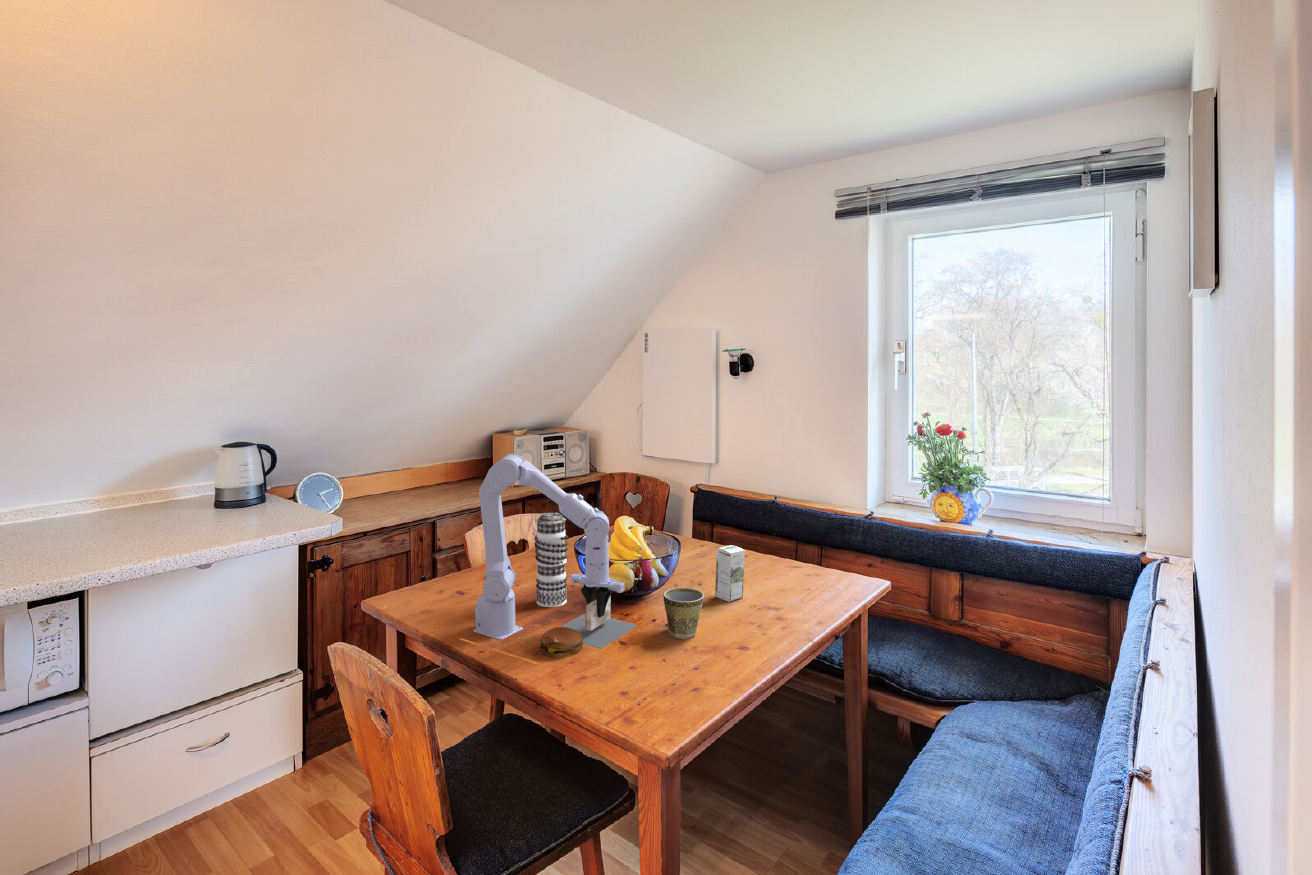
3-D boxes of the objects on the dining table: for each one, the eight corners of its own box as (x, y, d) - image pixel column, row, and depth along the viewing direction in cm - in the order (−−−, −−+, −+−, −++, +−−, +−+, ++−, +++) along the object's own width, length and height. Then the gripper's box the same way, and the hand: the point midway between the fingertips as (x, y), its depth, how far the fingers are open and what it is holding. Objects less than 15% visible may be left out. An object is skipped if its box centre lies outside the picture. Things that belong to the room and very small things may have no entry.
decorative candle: (557, 594, 191) (556, 508, 188) (574, 603, 184) (574, 515, 181) (528, 601, 186) (527, 513, 182) (545, 611, 178) (544, 520, 175)
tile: (605, 617, 170) (605, 594, 170) (610, 618, 170) (610, 595, 169) (585, 629, 163) (585, 605, 162) (590, 630, 162) (591, 606, 161)
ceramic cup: (700, 643, 160) (700, 603, 159) (659, 639, 162) (659, 599, 160) (706, 622, 172) (707, 585, 171) (668, 618, 174) (669, 582, 173)
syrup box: (728, 592, 194) (729, 544, 192) (743, 598, 190) (745, 548, 188) (714, 596, 190) (715, 547, 189) (729, 602, 186) (731, 552, 184)
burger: (579, 640, 161) (579, 621, 161) (585, 657, 152) (585, 638, 152) (538, 644, 159) (538, 625, 158) (541, 662, 150) (540, 642, 149)
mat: (548, 634, 164) (548, 633, 164) (587, 613, 177) (587, 611, 177) (601, 650, 156) (601, 648, 156) (638, 626, 169) (638, 624, 169)
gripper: (563, 561, 164) (563, 614, 165) (613, 571, 157) (613, 626, 159) (579, 554, 170) (580, 605, 172) (629, 563, 163) (628, 616, 165)
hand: (597, 615), depth 165 cm, fingers closed on tile, 2 cm apart
